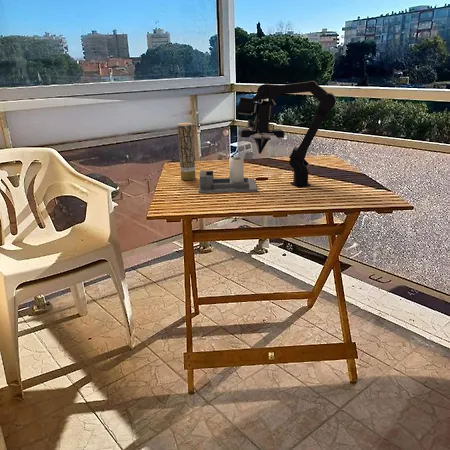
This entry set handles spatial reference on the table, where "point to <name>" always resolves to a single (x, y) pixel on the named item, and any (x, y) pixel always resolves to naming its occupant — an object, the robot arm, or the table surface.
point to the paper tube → (186, 150)
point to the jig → (223, 184)
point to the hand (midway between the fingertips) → (259, 153)
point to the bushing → (236, 169)
